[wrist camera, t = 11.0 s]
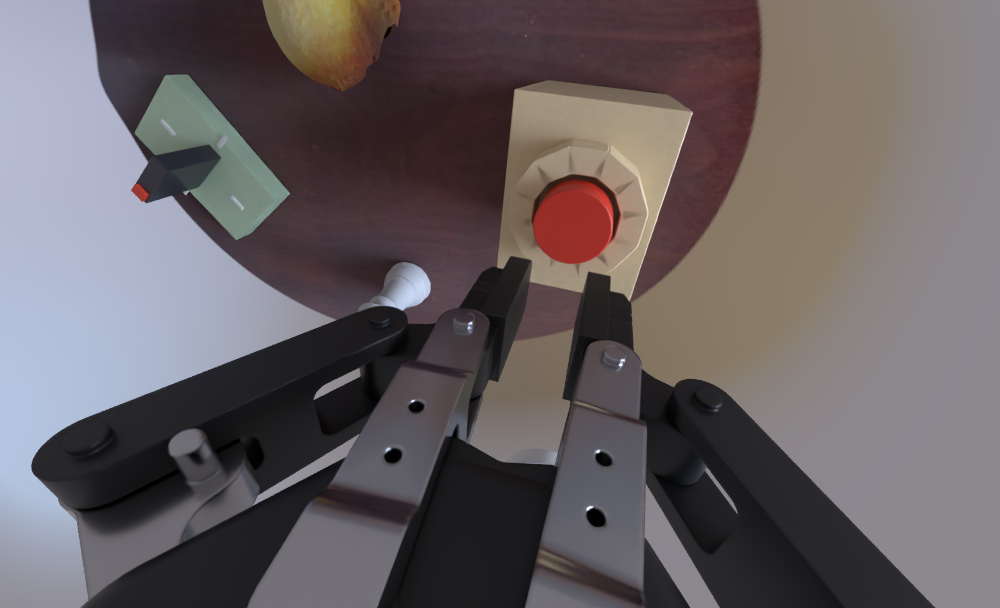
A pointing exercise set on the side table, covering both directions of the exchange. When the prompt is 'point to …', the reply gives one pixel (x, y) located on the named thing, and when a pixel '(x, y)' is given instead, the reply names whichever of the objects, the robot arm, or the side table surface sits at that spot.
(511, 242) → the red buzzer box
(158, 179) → the black box
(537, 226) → the red push button
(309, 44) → the fruit
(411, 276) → the rook chess piece
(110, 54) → the side table surface
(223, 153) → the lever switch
